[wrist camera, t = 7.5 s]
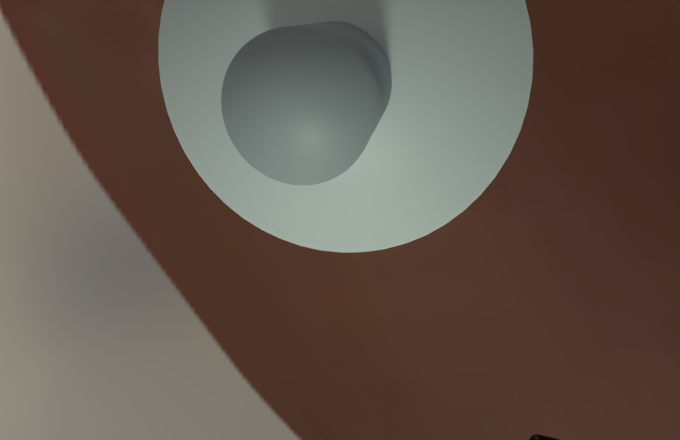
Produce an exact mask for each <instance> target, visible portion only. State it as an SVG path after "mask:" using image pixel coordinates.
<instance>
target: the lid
mask: <svg viewBox="0 0 680 440" xmlns="http://www.w3.org/2000/svg"><path fill="white" fill-rule="evenodd" d="M159 71H160V79H161V87H162V91H163V96H164V100H165V104H166V108H167V112H168V115H169V117H170V120H171V123H172V126H173V128H174V131H175V134H176V136H177V138H178V140H179V142H180V144H181V146H182V148H183V150H184V152H185V154H186V155H187V157H188V158H189V160H190V162H191V163H192V165H193V166H194V168H195V169H196V171H197V172H198V174H199V175H200V176H201V177H202V179H203V180H204V181H205V182H206V184H207V185H208V186H209V187H210V189H211V190H212V191H213V192H214V193H215V194H216V195H217V196H218V197H219V198H220V199H221V200H222V201H223V202H224V203H225V204H226V205H227V206H229V207H230V208H231V209H232V210H234V211H235V212H236V213H237V214H239V215H240V216H241V217H242V218H244V219H245V220H247V221H249V222H250V223H252V224H253V225H255V226H257V227H258V228H260V229H261V230H263V231H265V232H268V233H270V234H272V235H274V236H276V237H278V238H280V239H283V240H285V241H288V242H291V243H294V244H297V245H300V246H304V247H309V248H313V249H317V250H323V251H333V252H367V251H374V250H382V249H387V248H390V247H394V246H398V245H402V244H405V243H408V242H410V241H413V240H415V239H418V238H420V237H423V236H425V235H427V234H429V233H431V232H433V231H434V230H436V229H438V228H440V227H442V226H443V225H445V224H447V223H448V222H449V221H451V220H452V219H453V218H455V217H456V216H457V215H459V214H460V213H462V212H463V211H464V210H465V209H466V208H467V207H468V206H469V205H470V204H472V203H473V202H474V201H475V200H476V199H477V198H478V197H479V196H480V195H481V194H482V193H483V191H484V190H485V189H486V188H487V187H488V185H489V184H490V183H491V182H492V180H493V179H494V178H495V177H496V175H497V174H498V172H499V171H500V169H501V167H502V166H503V164H504V162H505V161H506V159H507V158H508V156H509V154H510V152H511V150H512V148H513V146H514V143H515V141H516V139H517V137H518V135H519V132H520V130H521V126H522V123H523V120H524V117H525V113H526V110H527V107H528V102H529V96H530V90H531V84H532V72H533V44H532V34H531V24H530V20H529V15H528V11H527V7H526V3H525V0H165V1H164V5H163V9H162V14H161V22H160V30H159Z"/></svg>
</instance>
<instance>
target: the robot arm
mask: <svg viewBox="0 0 680 440" xmlns="http://www.w3.org/2000/svg"><path fill="white" fill-rule="evenodd" d="M529 440H559V439H555V438H551V437H547V436H543V435H538V434H536V435H532V436H531V438H530V439H529Z"/></svg>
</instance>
